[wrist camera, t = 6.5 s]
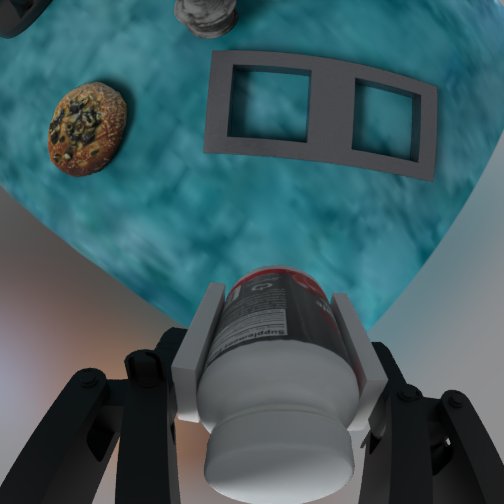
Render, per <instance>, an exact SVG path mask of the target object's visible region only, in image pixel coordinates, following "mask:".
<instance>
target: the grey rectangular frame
mask: <svg viewBox="0 0 504 504" xmlns="http://www.w3.org/2000/svg"><path fill="white" fill-rule="evenodd" d="M236 71H256V72H272V73H284V74H295V75H303V76H309V89H308V106H307V121H306V135H305V143H302V142H292V141H282V140H271V139H257V138H241V137H230V133H231V119H232V107H233V95H234V84H235V73H236ZM355 84H358V85H363V86H368V87H372V88H376V89H380V90H384V91H388V92H392V93H396V94H400V95H403V96H407V97H410V98H413V99H412V134H411V150H410V161H408V160H404V159H399V158H394V157H390V156H385V155H380V154H375V153H369V152H364V151H358V150H352V135H353V120H354V98H355ZM436 142H437V87H435V86H433V85H430V84H427V83H424V82H421V81H418V80H415V79H412V78H409V77H406V76H402V75H399V74H396V73H392V72H388V71H385V70H381V69H377V68H373V67H369V66H365V65H360V64H355V63H351V62H346V61H340V60H335V59H329V58H322V57H316V56H308V55H300V54H291V53H280V52H266V51H236V50H224V51H213V52H212V61H211V70H210V79H209V89H208V100H207V111H206V123H205V136H204V151H203V153H214V154H236V155H252V156H266V157H278V158H288V159H298V160H307V161H315V162H323V163H331V164H338V165H345V166H351V167H358V168H364V169H370V170H375V171H381V172H386V173H392V174H397V175H402V176H407V177H411V178H416V179H421V180H425V181H431V182H433V178H434V168H435V157H436Z"/></svg>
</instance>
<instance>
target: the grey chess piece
mask: <svg viewBox="0 0 504 504" xmlns="http://www.w3.org/2000/svg"><path fill="white" fill-rule="evenodd" d="M236 2H237V0H177V1H176V3H175V7H174V12H175V16H176V18H177V19H178V20H179V21H180V22H181V23H183V24H184V25H187V27H188V29H189V31H190V32H191V33H192V34H193V35H195V36H197V37H200V38H206V39H209V38H216V37H220V36H222V35H224V34H226V33H228V32H229V31H230V30H231V29H232V28H233V27H234V26H235V24H236V22H237V17H238V14H237V11H236V9H235V6H236Z"/></svg>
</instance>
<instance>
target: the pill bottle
mask: <svg viewBox="0 0 504 504" xmlns="http://www.w3.org/2000/svg"><path fill="white" fill-rule="evenodd" d="M196 402H197V410H198V414H199V417H200V419H201V421H202V423H203V425H204V426H205V428H206V429H207V430H208V432H209V433H210V438H209V441H208V443H207V453H206V459H205V465H204V476H205V479H206V481H207V482H208V484H209V485H210V486H211V487H213V488H214V489H215V490H216V491H218V492H219V493H221V494H223V495H225V496H227V497H230V498H233V499H236V500H239V501H242V502H246V503H252V504H301V503H306V502H310V501H313V500H316V499H320V498H323V497H325V496H327V495H330V494H332V493H334V492H336V491H337V490H339V489H341V488H342V487H343V486H345V485H346V484H347V483H348V482H349V481H350V479H351V478H352V476H353V473H354V467H355V465H354V457H353V451H352V445H351V436H350V434H349V432H348V431H347V428H348V427H349V426H350V424H351V423H352V421H353V419H354V417H355V415H356V412H357V409H358V405H359V389H358V384H357V379H356V375H355V372H354V370H353V367H352V365H351V362H350V360H349V357H348V353H347V351H346V348H345V345H344V342H343V340H342V336H341V334H340V331H339V328H338V326H337V323H336V321H335V318H334V315H333V312H332V309H331V307H330V304H329V301H328V299H327V297H326V295H325V293H324V291H323V289H322V287H321V286H320V285H319V283H318V282H317V281H316V280H315V279H314V278H313V277H311V276H310V275H309V274H307V273H305V272H304V271H301V270H299V269H297V268H294V267H291V266H285V265H272V266H263V267H260V268H257V269H255V270H252V271H251V272H249V273H247V274H246V275H244V276H243V277H241V278H240V279H239V280H238V281H237V282H236V283H235V284H234V286H233V287H232V289H231V290H230V292H229V294H228V296H227V299H226V302H225V304H224V307H223V310H222V314H221V316H220V319H219V323H218V326H217V329H216V332H215V335H214V338H213V341H212V344H211V347H210V350H209V354H208V357H207V360H206V363H205V366H204V369H203V373H202V376H201V379H200V381H199V386H198V391H197V398H196Z"/></svg>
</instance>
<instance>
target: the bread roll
mask: <svg viewBox="0 0 504 504" xmlns="http://www.w3.org/2000/svg"><path fill="white" fill-rule="evenodd" d="M126 106H127V105H126V103H125V102H124V101H123V99H122V96H121V94H120V92H118V91H117V92H116V91H115V90H114V89H112V88H111V87H109V86H107V85H105V84H103V83H101V82H94V83H89V84H84V85H83V86H79V87H78V88H76V89H73V90H72V91H71V92H69V93H68V94H67V95H65V96H64V98H63V99H62V100H61V101H60V103H59V104H58V106H57V107H56V111H55V114H54V116H53V119H52V121H51V123H50V126H49V133H48V151H49V153H50V160H51V161H52V162H53V164H55V165H56V166H57V167H58V168H59V169H60V170H61V171H63V172H65V173H66V174H68V175H71V176H75V177H81V176H86V175H91V174H92V173H96V172H100V171H101V170H102V169H103V168H104V167H105V166H106V165H107V164H108V163H109V162H110V159H111V158H112V157H113V156H114V154H115V153H116V151H117V149H118V147H119V144H120V142H121V140H122V137H123V136H122V132H123V129H124V127H125V125H126V122H127V117H128V116H127V112H128V111H127V108H126Z"/></svg>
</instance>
